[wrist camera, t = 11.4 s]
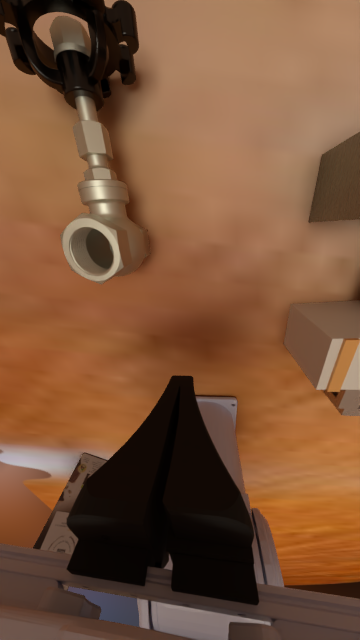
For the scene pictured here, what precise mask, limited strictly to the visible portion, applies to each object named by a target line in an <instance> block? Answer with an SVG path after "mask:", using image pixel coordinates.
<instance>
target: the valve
mask: <svg viewBox="0 0 360 640" xmlns="http://www.w3.org/2000/svg"><path fill="white" fill-rule="evenodd" d="M50 12H64V13H69V14H72V15H75V16H77V17H79V18H81V19H83V20H85V21H86V22H87V23H88V28H89V34H90V38H89V36H88V34H87V32H86V30H85V28H84V27H83V25H82V24H81V23H80V22H78V21H77V20H75V19H73V18H70V17H68V16H58V17H56V18H55V19H54V20H53V22H52V24H51V27H50V34H51V38H52V42H53V46H54V50H52V49H51V48H50V47H48V46H47V45H46V44H45V43H44V42H43V41H42V40H41V39H40V38H39V37H38V36H37V35H36V33H35V32H34V31H33V26H34V23H35V21H36V20H37V19H38V18H39V17H40V16H42V15H44V14H46V13H50ZM5 22H6V23H10V24H12V25H13V26H15V27H16V28H14V27H9V28H7V29H6V30H5ZM0 34H1V35H2V36H5V37H6V40H7V43H8V46H9V50H10V53H11V56H12V59H13V62H14V64H15V66H16V67H17V68H18V69H19V70H20V71H22V72H24V73H26V74H29V75H36V74H37V75H38V77H39V78H40V79H41V80H42V81H43V82H44V83H46V84H47V85H49V86H50V87H52V88H54V89H57V91H58V92H60V93H61V94H63V95H64V98H65V100H66V102H67V103H68V104H69V105H70V106H71V107H73V108H75V109H77V111H78V116H79V120H80V121H78V122H77V123H76V124H75V125H74V126H73V132H74V136H75V140H76V144H77V148H78V152H79V156H80V158H82V159H84V160H85V161H87V162H88V165H89V169H87V170H86V171H85V172H84V177H85V181H82V182H79V183H78V185H77V187H78V190H79V194H80V198H81V202H82V204H83V205H86V206H88V207H89V211H90V214H87V213H81V214H80V215H79V216H78V217H77V218H75V219H74V220H73V221H72V222H71V223H70V224H69V225H68V226H67V227H66V228H65V229H64V231H63V232H62V233H61V235H60V237H61V242H62V247H63V250H64V254H65V256H66V259H67V261H68V264H69V266H70V268H71V270H72V271H74V272H76V273H77V274H79V275H81V276H83V277H85V278H87V279H89V280H91V281H94V282H96V283H99V284H103V283H105V282H107V281H108V280H110V279H112V278H113V277H115V276H116V277H120V276H126V275H128V274H131V273H132V272H134V271H135V270H136V269H138V268H139V266H140V265H141V263H142V262H143V259H144V258H146V257H147V256H148V255H150V254H151V252H150V245H149V237H148V230H146V229H145V228H143V227H141V226H139V225H137V224H135V223H133V222H132V221H131V220H130V219H129V218H128V217H127V213H126V208H125V205H126V204H128V203H129V196H128V189H127V185H126V184H125V183H124V182H122V181H118V180H117V176H116V173H115V172H114V171H113V170H111V169H109V166H108V161H110V160H113V154H112V148H111V143H110V137H109V132H108V130H107V129H106V127H105V126H104V125H103V124H101V123H99V122H98V117H97V112H96V111H98V110H100V109H101V108H102V107H103V106H104V99H103V98H108V97H110V95H111V90H110V84H109V78H108V77H109V76H110V75H111V74H112V73H113V72H114V71H115V70H117V71H118V72H120V73H121V80H122V84H124V85H131V84H133V83H134V82H135V80H136V75H135V66H134V58H133V54H135V53H136V52H137V50H138V48H139V41H138V31H137V22H136V14H135V11H134V8H133V7H132V5H131V4H130V3H128V2H127V1H124V0H118V1H116V2H115V3H114V4H113V5H112V8H109V7H106V6H105V4H104V0H0ZM90 39H91V40H90ZM123 41H125V42H126V43H127V45H128V46H126V45H123V44H119V43H121V42H123Z"/></svg>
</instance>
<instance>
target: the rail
mask: <svg viewBox="0 0 360 640" xmlns="http://www.w3.org/2000/svg"><path fill="white" fill-rule="evenodd" d="M353 219H360V132H359V133H357V134H355V135H354V136H352V137H350V138H349V139H347V140H346V141H344V142H342V143H341V144H339V145H337V146H336V147H334V148H332V149H331V150H329V151H328V152H326V153H324V154H323V155H322V159H321V164H320V169H319V174H318V179H317V184H316V188H315V193H314V198H313V203H312V208H311V213H310V218H309V222H322V221H338V220H353ZM324 393H325V394H326V396H327V397H328V398H329V400H330V401H331V402H332V403H333V405H334V406H335V407H336V409H337V410H338V411H339V413H340V414H341V415H348V416H360V390H340V392H327V390H324Z"/></svg>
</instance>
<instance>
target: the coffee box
mask: <svg viewBox="0 0 360 640" xmlns="http://www.w3.org/2000/svg"><path fill="white" fill-rule="evenodd" d="M106 462H107V461H105V460H103V459H100V458H97V457H94V456H91V455H89V454H86V453H84V454H83V455H82V457H81V459H80V460H79V462H78V464H77V466H76V468H75V470H74V472H73V473H72V475H71V477H70V479H69V481H68V483H67V485H66V487H65V489H64V490H63V492H62V494H61V496H60V498H59V500H58V502H57V504H56V506H55V508H54V509H53V511H52V513H51V515H50V517H49V519H48V521H47V523H46V525H45V526H44V528H43V530H42V532H41V534H40V536H39V538H38V540H37V541H36V543H35V545H34V547H33V549H39V550H46V551H52V552H59V553H65V554H73V551H74V549H75V546H76V544H77V541H78V538H77V537H76V536H75V535H74V534H73V533H72V531H71V530H70V529H69V528H68V526H67V523H66V522H67V517H68V515H69V513H70V511H71V509H72V507H73V505H74V502H75V500H76V498H77V496H78V494H79V492H80V490H81V489H82V487H83V485H84V483H85V482H86V480H87V478H89V477H90V476H91V475H92V474H93V473H94V472H95V471H97V470H98V469H99V468H100V467H101V466H102V465H103V464H105V463H106ZM63 587H64V590H66V591H67V590H68V587H69V586H65V585H63Z"/></svg>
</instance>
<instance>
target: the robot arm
mask: <svg viewBox="0 0 360 640" xmlns="http://www.w3.org/2000/svg"><path fill="white" fill-rule="evenodd" d="M236 413H237V399H236V398H234V397H200V396H195V392H194V385H193V377H192V376H172V377H171V379H170V381H169V384H168V385H167V387H166V389H165V391H164V393H163V394H162V396H161V398H160V399H159V401H158V403H157V404H156V406H155V407H154V408H153V410H152V411H151V413H150V414H149V416H148V417H147V418H146V420H145V421H144V422H143V423H142V425H141V426H140V427H139V428H138V430H137V431H136V432H135V433H134V434H133V435H132V436H131V438H130V439H129V440H128V441H127V442H126V443H125V444H124V445H123V446H122V447H121V448H120V449H119V450H118V451H117V452H116V453H115V454H114V455H113V456H112V457H111V458H110V459H109V460H108V461H107V462H106V463H105V464H103V465H102V466H101V467H100V468H99V469H98V470H97V471H95V472H94V473H93V474H92V475H91V476H90V477H89V478H87V480H86V482H85V483H84V485H83V487H82V489H81V490H80V492H79V494H78V496H77V498H76V500H75V502H74V505H73V507H72V509H71V511H70V513H69V515H68V517H67V522H66V523H67V526H68V528H69V529H70V530H71V531H72V533H73V534H74V535H75V536H76V537H77V538H78V541H77V544H76V546H75V549H74V551H73V554H65V553H59V552H52V551H46V550H39V549H32V548H26V547H19V546H13V545H7V544H0V640H360V599H356V598H349V597H343V596H337V595H330V594H323V593H317V592H310V591H304V590H298V589H291V588H285V587H284V584H283V579H282V575H281V570H280V566H279V561H278V557H277V553H276V549H275V545H274V541H273V537H272V534H271V531H270V527H269V524H268V522H267V520H266V519H265V517H264V516H263V515H262V514H261V513H260V511H259V509H257V508H252V509H250V503H249V497H248V494H246V493H245V487H244V481H243V475H242V470H241V464H240V458H239V452H238V446H237V440H236V434H235V426H236ZM251 512H252V515H251ZM63 585H65V586H71V587H76V588H82V589H88V590H93V591H98V592H105V593H110V594H115V595H121V596H126V597H132V598H137V602H138V610H139V623H140V627H135V626H131V625H126V624H121V623H115V622H109V621H104V620H99V617H100V613H101V608H100V607H99V606H97V605H95V604H93V603H91V602H90V601H88V600H87V599H86V598H85V596H84V595H80V594H77V593H73V592H70V591H66V590H64V587H63Z"/></svg>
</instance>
